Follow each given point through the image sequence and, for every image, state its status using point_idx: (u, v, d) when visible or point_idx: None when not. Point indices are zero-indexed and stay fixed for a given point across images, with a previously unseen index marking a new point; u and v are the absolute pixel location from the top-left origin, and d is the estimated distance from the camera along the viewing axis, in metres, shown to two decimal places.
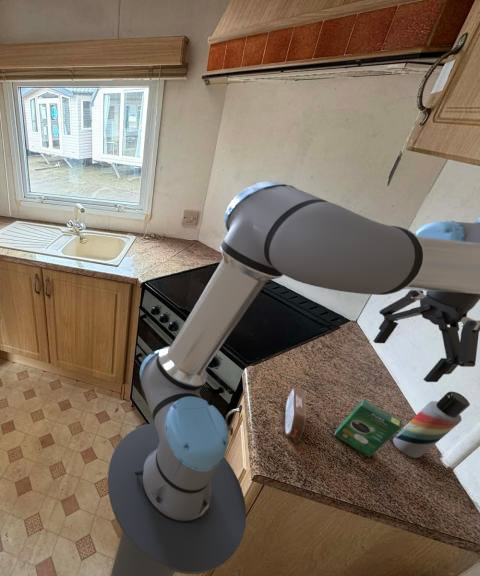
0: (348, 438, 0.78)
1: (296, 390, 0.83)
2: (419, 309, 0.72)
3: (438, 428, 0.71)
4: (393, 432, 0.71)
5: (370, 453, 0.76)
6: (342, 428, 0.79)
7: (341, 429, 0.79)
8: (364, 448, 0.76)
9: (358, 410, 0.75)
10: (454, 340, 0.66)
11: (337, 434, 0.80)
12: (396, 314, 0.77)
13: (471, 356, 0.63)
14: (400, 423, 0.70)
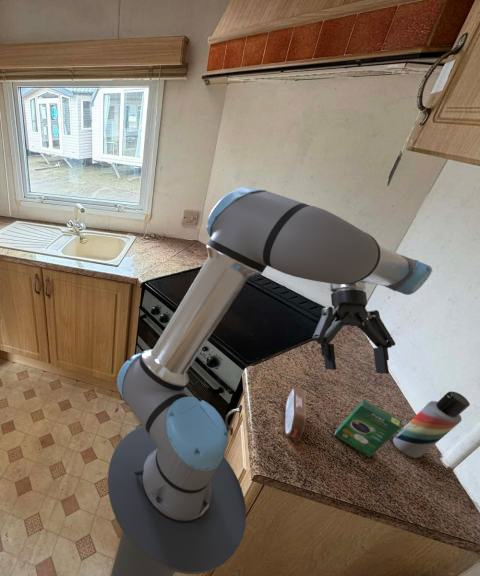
0: (348, 438, 0.78)
1: (296, 390, 0.83)
2: (347, 318, 0.81)
3: (438, 428, 0.71)
4: (393, 432, 0.71)
5: (370, 453, 0.76)
6: (342, 428, 0.79)
7: (341, 429, 0.79)
8: (364, 448, 0.76)
9: (358, 410, 0.75)
10: None
11: (337, 434, 0.80)
12: (332, 333, 0.81)
13: None
14: (400, 423, 0.70)
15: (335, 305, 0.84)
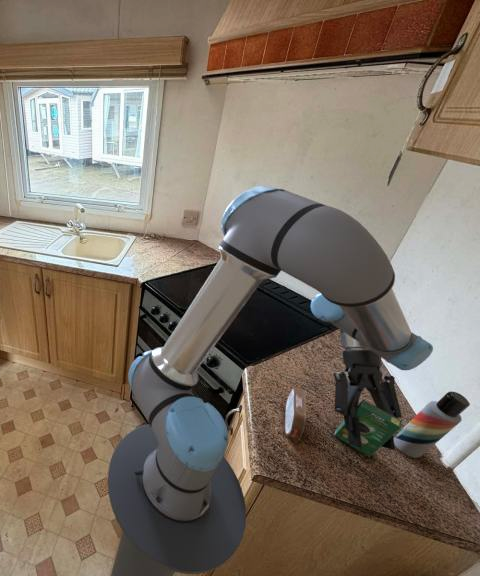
0: (348, 438, 0.78)
1: (296, 390, 0.83)
2: (362, 383, 0.76)
3: (438, 428, 0.71)
4: (393, 432, 0.71)
5: (370, 453, 0.76)
6: (342, 428, 0.79)
7: (341, 429, 0.79)
8: (364, 448, 0.76)
9: (358, 410, 0.75)
10: None
11: (337, 434, 0.80)
12: (354, 403, 0.75)
13: None
14: (400, 423, 0.70)
15: (347, 365, 0.78)
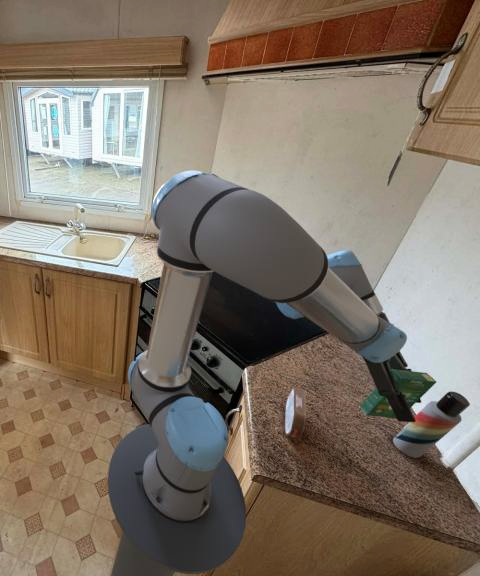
0: (382, 411, 0.71)
1: (296, 390, 0.83)
2: None
3: (438, 428, 0.71)
4: (428, 389, 0.66)
5: None
6: (377, 405, 0.70)
7: (375, 407, 0.70)
8: None
9: (397, 383, 0.66)
10: None
11: (370, 413, 0.71)
12: (392, 378, 0.65)
13: None
14: (431, 377, 0.66)
15: None
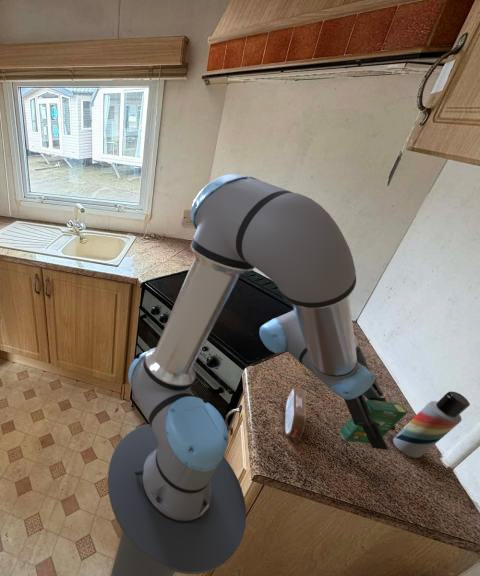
0: (358, 437, 0.76)
1: (296, 390, 0.83)
2: None
3: (438, 428, 0.71)
4: (400, 418, 0.71)
5: None
6: (354, 432, 0.75)
7: (352, 433, 0.75)
8: None
9: (371, 413, 0.71)
10: None
11: (348, 438, 0.77)
12: (366, 409, 0.71)
13: None
14: (403, 408, 0.71)
15: None
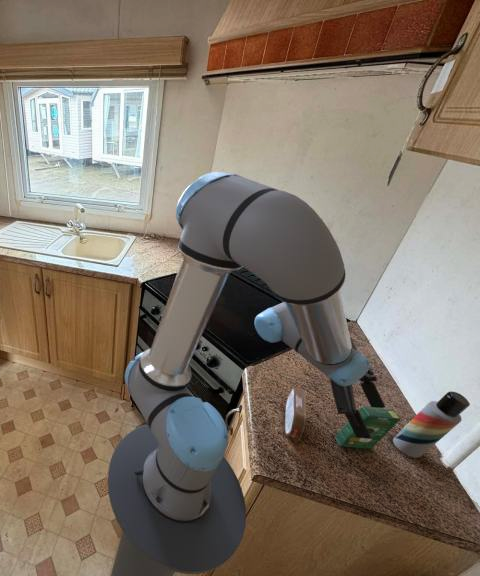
0: (354, 443, 0.77)
1: (296, 390, 0.83)
2: None
3: (438, 428, 0.71)
4: (394, 424, 0.73)
5: (372, 446, 0.77)
6: (349, 438, 0.76)
7: (348, 439, 0.77)
8: (367, 445, 0.77)
9: (366, 420, 0.72)
10: None
11: (343, 444, 0.78)
12: (352, 397, 0.70)
13: None
14: (397, 414, 0.72)
15: None
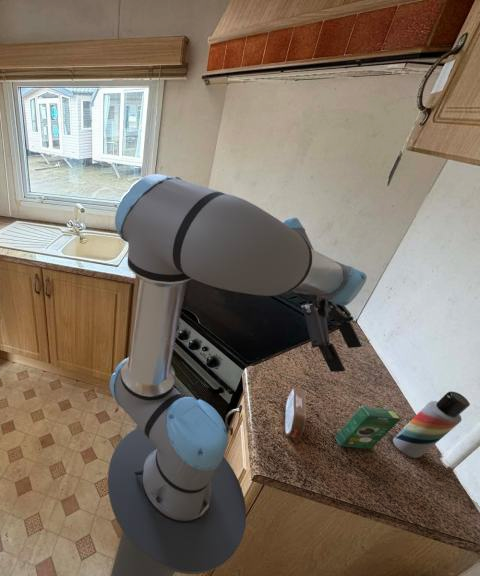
0: (354, 443, 0.77)
1: (296, 390, 0.83)
2: (326, 309, 0.73)
3: (438, 428, 0.71)
4: (394, 424, 0.73)
5: (372, 446, 0.77)
6: (349, 438, 0.76)
7: (348, 439, 0.77)
8: (367, 445, 0.77)
9: (366, 420, 0.72)
10: None
11: (343, 444, 0.78)
12: (326, 331, 0.71)
13: None
14: (397, 414, 0.72)
15: (309, 298, 0.74)
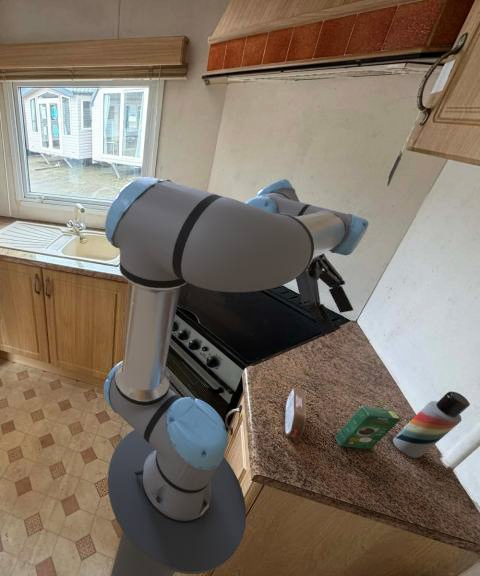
0: (354, 443, 0.77)
1: (296, 390, 0.83)
2: (317, 270, 0.72)
3: (438, 428, 0.71)
4: (394, 424, 0.73)
5: (372, 446, 0.77)
6: (349, 438, 0.76)
7: (348, 439, 0.77)
8: (367, 445, 0.77)
9: (366, 420, 0.72)
10: None
11: (343, 444, 0.78)
12: (316, 292, 0.70)
13: None
14: None
15: None
